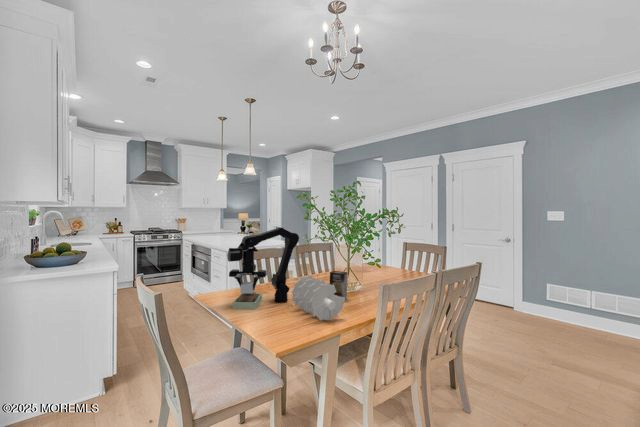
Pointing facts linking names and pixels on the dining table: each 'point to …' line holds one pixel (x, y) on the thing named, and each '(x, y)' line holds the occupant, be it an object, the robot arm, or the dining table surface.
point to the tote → (247, 303)
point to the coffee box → (339, 283)
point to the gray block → (247, 287)
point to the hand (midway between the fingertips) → (248, 289)
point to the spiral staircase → (317, 298)
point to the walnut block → (247, 297)
